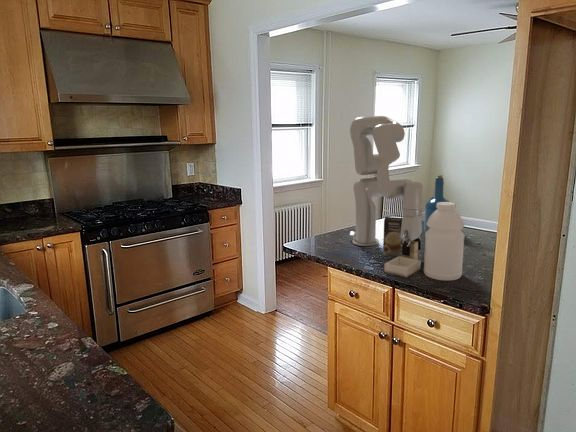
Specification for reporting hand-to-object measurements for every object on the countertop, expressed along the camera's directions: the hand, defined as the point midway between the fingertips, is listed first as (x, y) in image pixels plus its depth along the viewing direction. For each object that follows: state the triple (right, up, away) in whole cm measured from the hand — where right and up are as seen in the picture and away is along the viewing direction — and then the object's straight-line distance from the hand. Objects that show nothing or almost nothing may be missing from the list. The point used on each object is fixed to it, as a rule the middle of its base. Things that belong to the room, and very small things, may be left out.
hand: (411, 252), depth 179 cm
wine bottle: (+26, +6, +44) cm, 51 cm away
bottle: (+8, -8, -14) cm, 18 cm away
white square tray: (-6, -7, -8) cm, 12 cm away
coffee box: (-4, -2, +13) cm, 14 cm away
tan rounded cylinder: (0, -4, +1) cm, 4 cm away
